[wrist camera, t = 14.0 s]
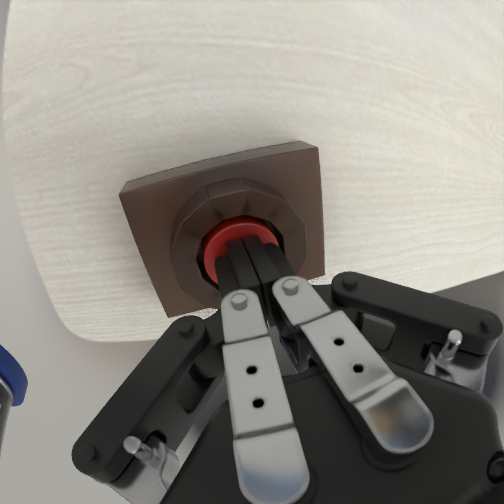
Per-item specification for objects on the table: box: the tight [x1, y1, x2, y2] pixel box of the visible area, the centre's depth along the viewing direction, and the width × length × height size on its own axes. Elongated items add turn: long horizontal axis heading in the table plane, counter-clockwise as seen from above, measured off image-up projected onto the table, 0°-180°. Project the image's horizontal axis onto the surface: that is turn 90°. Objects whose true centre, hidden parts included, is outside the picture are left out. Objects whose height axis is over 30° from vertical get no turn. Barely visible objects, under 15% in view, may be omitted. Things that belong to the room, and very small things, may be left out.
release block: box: [119, 141, 325, 318], centre depth 15 cm, size 10×8×4 cm
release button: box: [201, 214, 279, 284], centre depth 14 cm, size 4×4×2 cm
